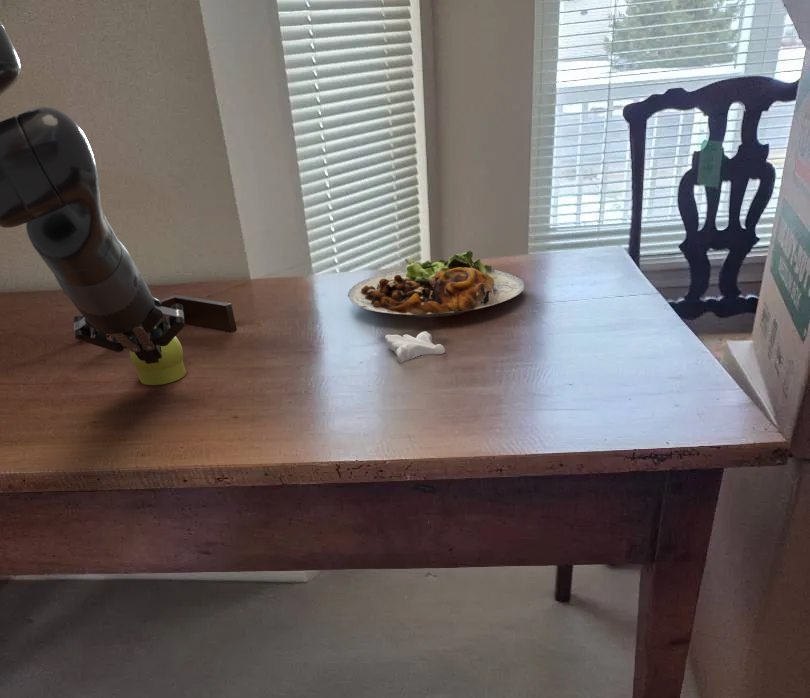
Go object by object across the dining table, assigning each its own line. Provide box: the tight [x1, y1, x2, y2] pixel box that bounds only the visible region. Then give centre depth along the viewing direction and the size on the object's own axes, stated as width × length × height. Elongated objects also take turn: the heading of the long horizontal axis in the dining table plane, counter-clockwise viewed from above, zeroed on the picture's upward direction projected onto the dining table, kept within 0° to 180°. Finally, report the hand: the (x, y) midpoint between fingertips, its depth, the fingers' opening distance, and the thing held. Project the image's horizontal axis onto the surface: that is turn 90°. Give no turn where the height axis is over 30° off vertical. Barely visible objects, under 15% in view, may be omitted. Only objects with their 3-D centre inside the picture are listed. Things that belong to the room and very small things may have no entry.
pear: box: [129, 326, 187, 386], centre depth 95 cm, size 7×7×9 cm
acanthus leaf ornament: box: [384, 331, 446, 364], centre depth 98 cm, size 8×7×2 cm
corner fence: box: [110, 294, 237, 341], centre depth 110 cm, size 13×13×4 cm
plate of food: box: [347, 250, 526, 318], centre depth 115 cm, size 28×28×6 cm
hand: (152, 356), depth 92 cm, fingers closed
